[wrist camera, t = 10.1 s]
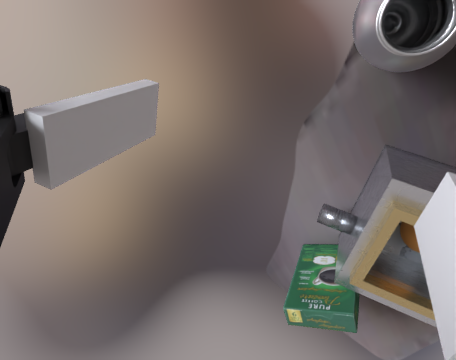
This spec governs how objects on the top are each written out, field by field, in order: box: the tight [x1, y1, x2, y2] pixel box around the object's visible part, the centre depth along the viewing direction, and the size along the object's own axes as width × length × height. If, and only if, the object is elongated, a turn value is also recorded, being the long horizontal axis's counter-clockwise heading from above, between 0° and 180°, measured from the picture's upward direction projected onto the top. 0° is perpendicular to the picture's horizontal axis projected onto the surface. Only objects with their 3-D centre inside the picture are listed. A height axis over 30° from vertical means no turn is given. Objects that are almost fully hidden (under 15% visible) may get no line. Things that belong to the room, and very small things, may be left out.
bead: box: [400, 222, 420, 253], centre depth 36 cm, size 5×5×5 cm
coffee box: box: [283, 244, 359, 333], centre depth 40 cm, size 8×3×13 cm, turn 106°
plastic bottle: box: [353, 0, 456, 72], centre depth 24 cm, size 6×7×20 cm
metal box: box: [317, 145, 456, 327], centre depth 35 cm, size 14×16×12 cm
